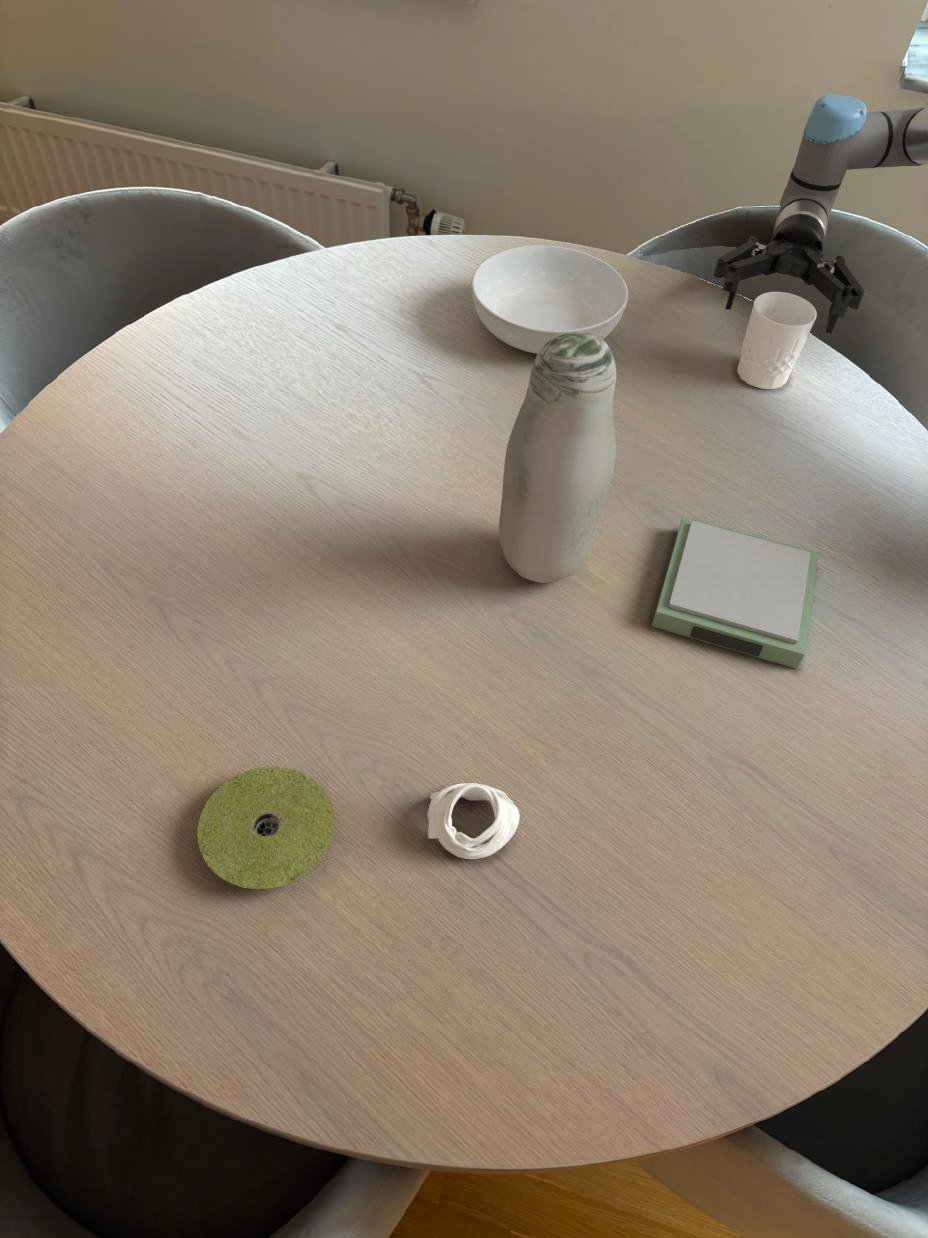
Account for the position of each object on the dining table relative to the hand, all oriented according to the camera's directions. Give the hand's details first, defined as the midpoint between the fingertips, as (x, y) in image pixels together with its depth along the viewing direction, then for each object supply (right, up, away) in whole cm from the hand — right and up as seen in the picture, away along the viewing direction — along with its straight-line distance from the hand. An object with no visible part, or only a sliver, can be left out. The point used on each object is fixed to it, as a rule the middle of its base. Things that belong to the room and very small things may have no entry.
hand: (780, 312), depth 127 cm
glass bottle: (-34, -35, -24) cm, 55 cm away
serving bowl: (-31, -1, +4) cm, 32 cm away
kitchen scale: (-14, -39, -26) cm, 48 cm away
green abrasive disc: (-59, -60, -46) cm, 96 cm away
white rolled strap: (-42, -59, -45) cm, 85 cm away
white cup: (-2, -8, +1) cm, 9 cm away
